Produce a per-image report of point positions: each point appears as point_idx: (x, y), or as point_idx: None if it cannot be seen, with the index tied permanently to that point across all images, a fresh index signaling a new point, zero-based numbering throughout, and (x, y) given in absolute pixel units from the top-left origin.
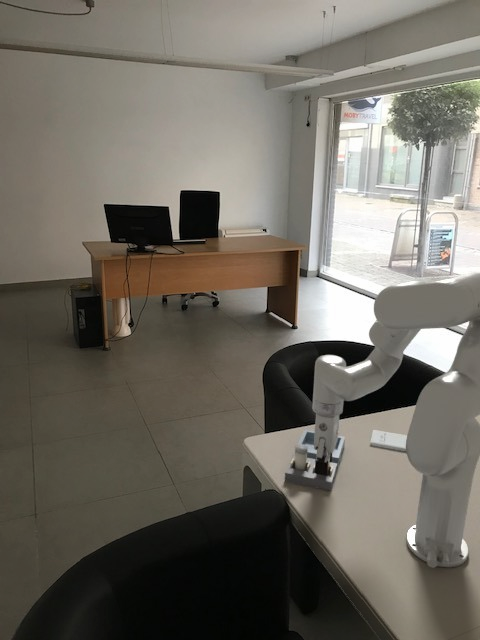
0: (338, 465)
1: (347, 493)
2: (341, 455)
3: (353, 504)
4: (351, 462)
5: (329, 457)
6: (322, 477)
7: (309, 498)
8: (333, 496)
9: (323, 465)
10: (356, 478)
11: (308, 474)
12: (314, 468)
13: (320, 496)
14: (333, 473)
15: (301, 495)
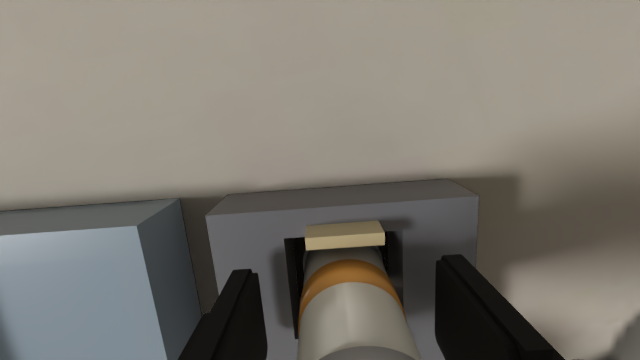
0: (153, 200)
1: (438, 73)
2: (24, 210)
3: (548, 6)
4: (64, 129)
5: (379, 345)
6: None
7: (556, 268)
8: (498, 150)
9: (556, 357)
10: (239, 52)
11: (435, 356)
12: None
13: (521, 220)
14: (355, 210)
15: (541, 311)
